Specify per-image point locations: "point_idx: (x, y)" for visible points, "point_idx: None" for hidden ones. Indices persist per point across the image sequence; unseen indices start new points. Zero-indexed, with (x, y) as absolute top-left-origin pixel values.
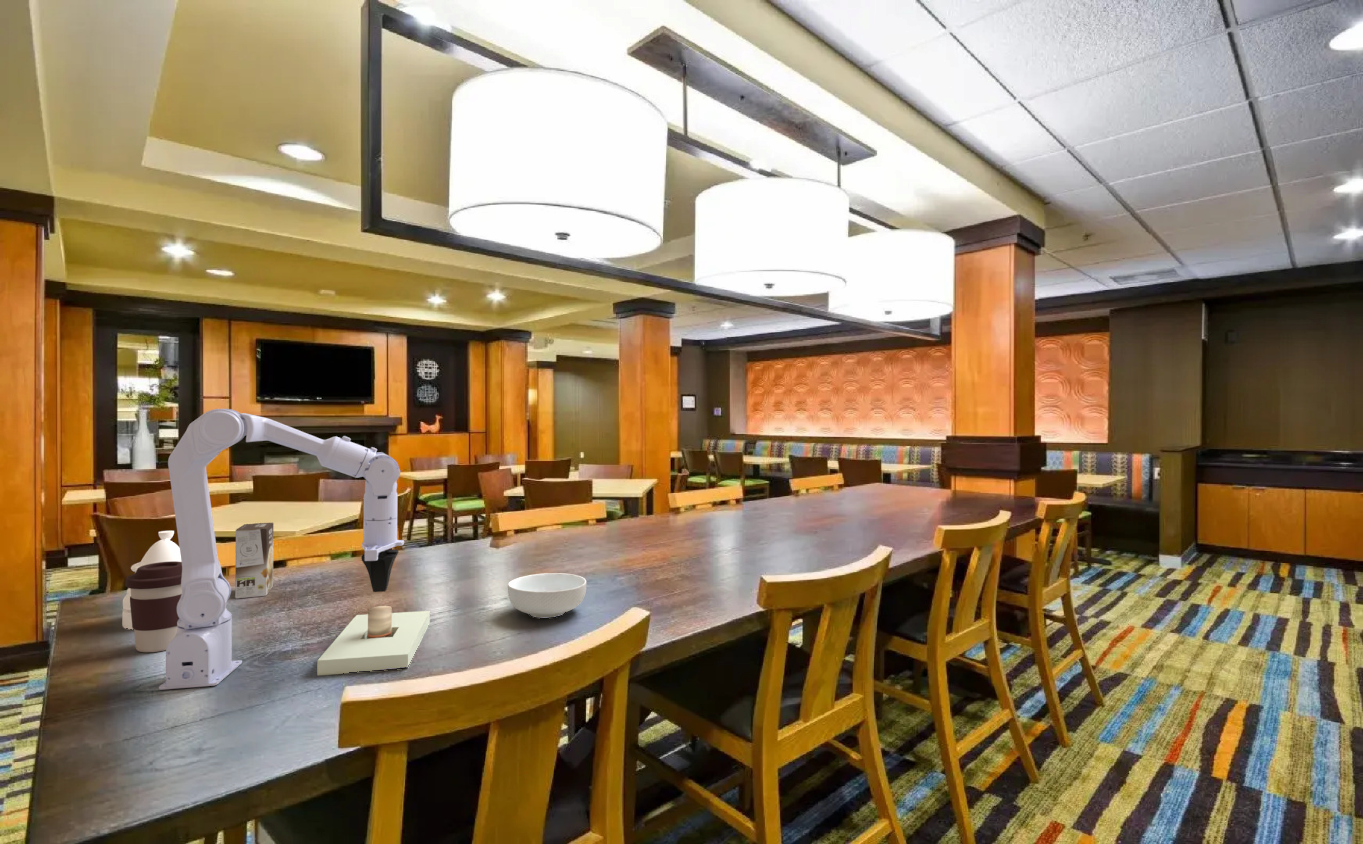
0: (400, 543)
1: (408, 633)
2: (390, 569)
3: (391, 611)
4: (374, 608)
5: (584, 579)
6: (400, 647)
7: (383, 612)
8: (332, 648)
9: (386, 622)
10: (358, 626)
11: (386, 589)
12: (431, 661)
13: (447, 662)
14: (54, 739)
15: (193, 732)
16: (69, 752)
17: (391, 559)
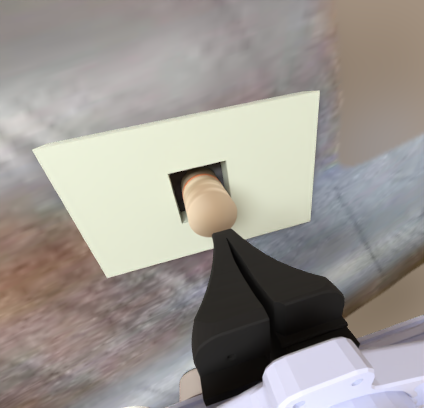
0: (365, 360)
1: (207, 136)
2: (236, 266)
3: (207, 191)
4: (207, 229)
5: None
6: (283, 120)
7: (231, 199)
8: (268, 227)
9: (221, 186)
10: (170, 243)
11: (215, 233)
12: (277, 54)
13: (288, 12)
14: (362, 305)
15: (389, 238)
16: (385, 285)
17: (328, 281)
